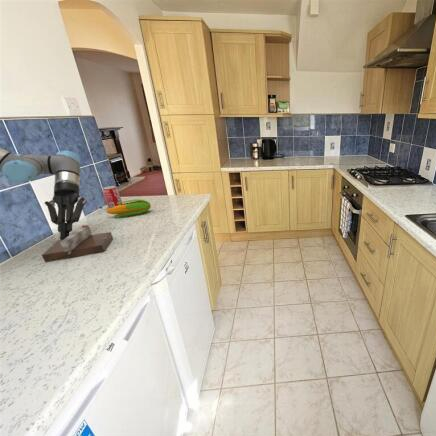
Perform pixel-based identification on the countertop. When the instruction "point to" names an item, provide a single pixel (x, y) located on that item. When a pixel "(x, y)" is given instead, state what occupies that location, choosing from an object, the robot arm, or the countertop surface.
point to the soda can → (111, 196)
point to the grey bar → (75, 238)
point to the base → (79, 247)
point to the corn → (130, 208)
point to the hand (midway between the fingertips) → (64, 239)
